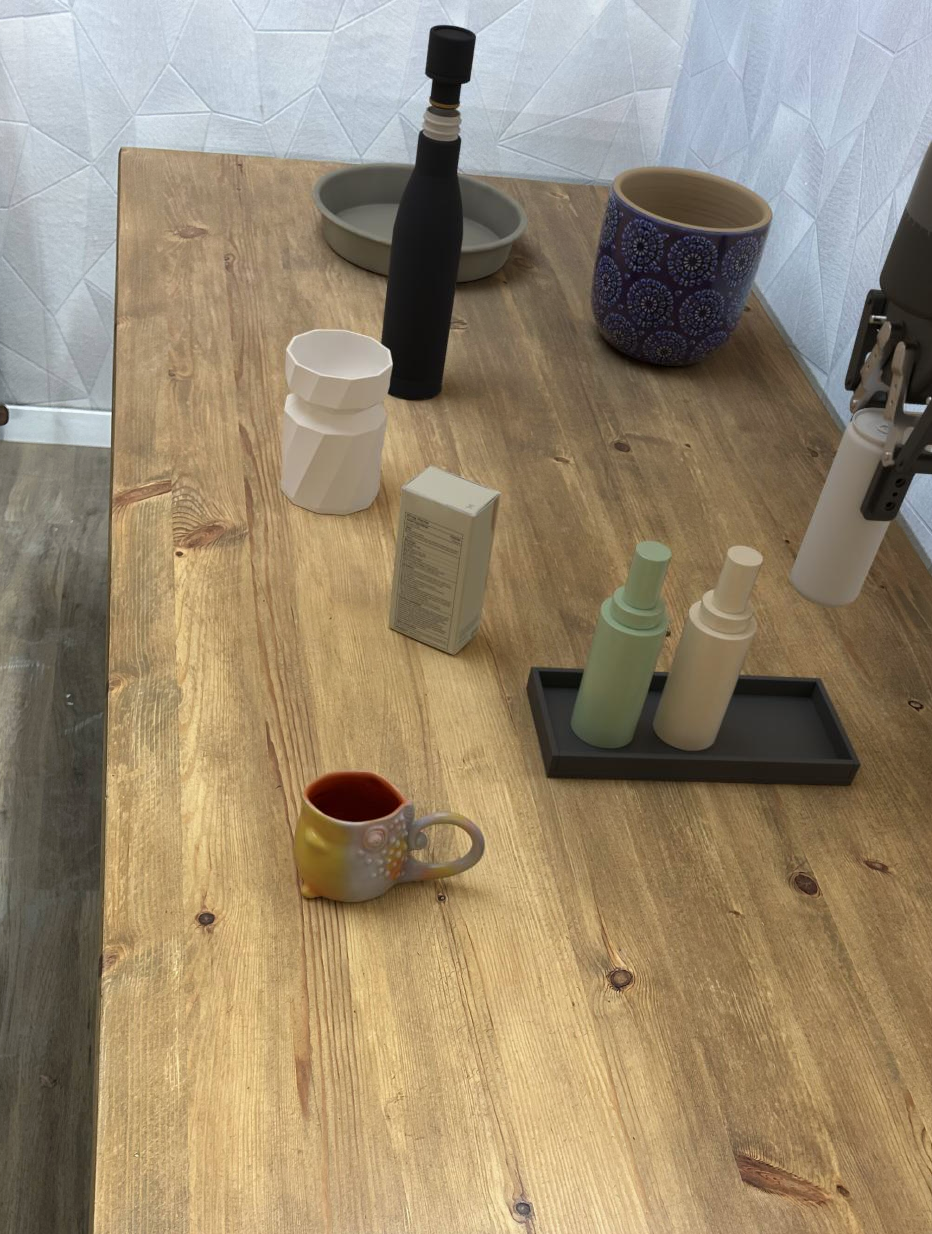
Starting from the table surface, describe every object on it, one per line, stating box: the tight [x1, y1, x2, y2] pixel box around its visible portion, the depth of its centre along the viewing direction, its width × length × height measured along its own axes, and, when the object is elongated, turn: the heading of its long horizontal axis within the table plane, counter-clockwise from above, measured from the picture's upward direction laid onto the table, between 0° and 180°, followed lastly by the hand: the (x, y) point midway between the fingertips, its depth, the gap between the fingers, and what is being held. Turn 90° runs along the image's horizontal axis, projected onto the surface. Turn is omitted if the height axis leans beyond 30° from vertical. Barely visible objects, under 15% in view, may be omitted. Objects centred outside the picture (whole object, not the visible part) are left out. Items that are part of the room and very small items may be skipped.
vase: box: [279, 328, 393, 516], centre depth 113 cm, size 9×9×12 cm
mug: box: [293, 769, 486, 903], centre depth 85 cm, size 12×7×7 cm, turn 84°
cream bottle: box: [653, 545, 764, 751], centre depth 95 cm, size 5×5×15 cm
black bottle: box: [380, 24, 477, 401], centre depth 121 cm, size 6×6×30 cm
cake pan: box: [311, 162, 529, 284], centre depth 154 cm, size 25×25×4 cm
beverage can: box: [790, 408, 914, 609], centre depth 88 cm, size 5×5×12 cm
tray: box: [525, 666, 862, 786], centre depth 100 cm, size 23×10×2 cm, turn 95°
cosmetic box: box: [387, 465, 502, 656], centre depth 101 cm, size 6×4×12 cm
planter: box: [590, 165, 774, 367], centre depth 140 cm, size 16×16×15 cm
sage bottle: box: [571, 540, 673, 749], centre depth 94 cm, size 5×5×15 cm
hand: (862, 493), depth 87 cm, fingers closed on beverage can, 5 cm apart
